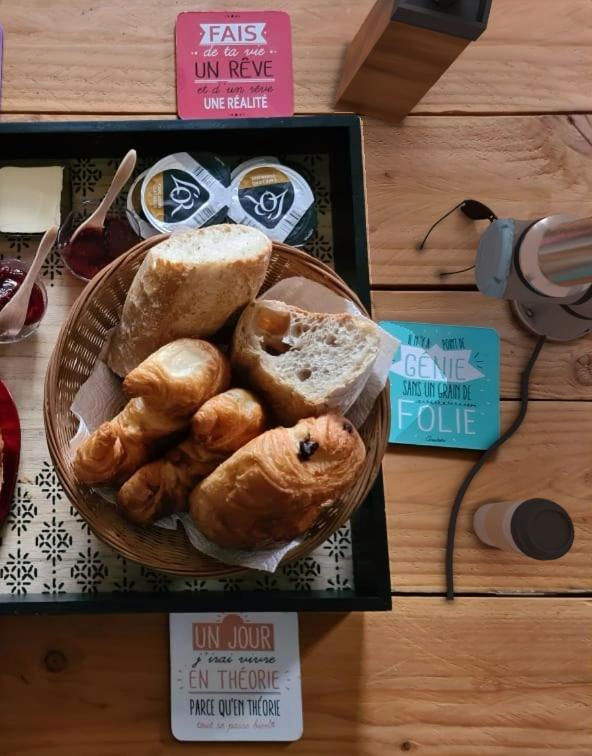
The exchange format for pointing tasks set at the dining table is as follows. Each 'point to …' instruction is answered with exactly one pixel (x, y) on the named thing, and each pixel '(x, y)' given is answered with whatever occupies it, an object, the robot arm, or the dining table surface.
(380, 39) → the stand
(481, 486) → the dining table surface
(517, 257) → the robot arm
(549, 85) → the dining table surface
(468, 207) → the sunglasses
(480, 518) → the coffee cup
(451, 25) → the tray
